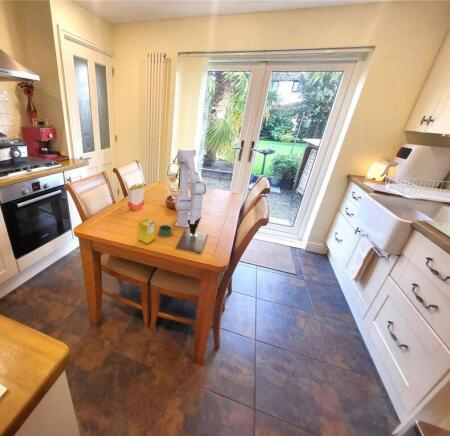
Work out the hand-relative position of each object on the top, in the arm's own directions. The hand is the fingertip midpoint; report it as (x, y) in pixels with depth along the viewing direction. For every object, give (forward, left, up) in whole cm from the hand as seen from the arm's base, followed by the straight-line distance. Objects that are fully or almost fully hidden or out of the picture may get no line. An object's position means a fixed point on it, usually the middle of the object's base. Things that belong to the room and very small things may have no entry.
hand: (193, 230), depth 121 cm
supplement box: (+8, -23, -7) cm, 25 cm away
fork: (0, 0, -6) cm, 6 cm away
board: (0, 0, -6) cm, 6 cm away
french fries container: (-29, -46, -7) cm, 55 cm away
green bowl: (-2, -16, -6) cm, 17 cm away
